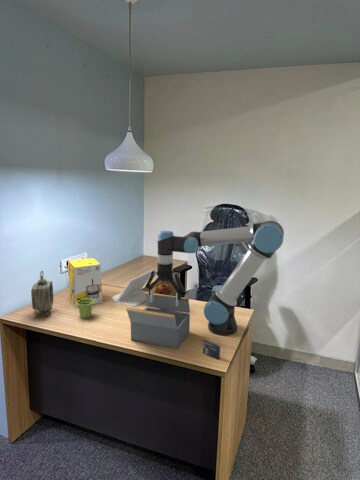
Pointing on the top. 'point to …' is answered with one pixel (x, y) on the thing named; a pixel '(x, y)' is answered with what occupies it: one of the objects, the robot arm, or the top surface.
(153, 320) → the near flap
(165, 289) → the reddish brown bumpy lump
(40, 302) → the tabletop clock
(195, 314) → the top surface
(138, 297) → the tablet stand
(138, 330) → the carton
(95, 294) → the packaging box
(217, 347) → the mini dv tape
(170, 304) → the far flap
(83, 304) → the plant pot
